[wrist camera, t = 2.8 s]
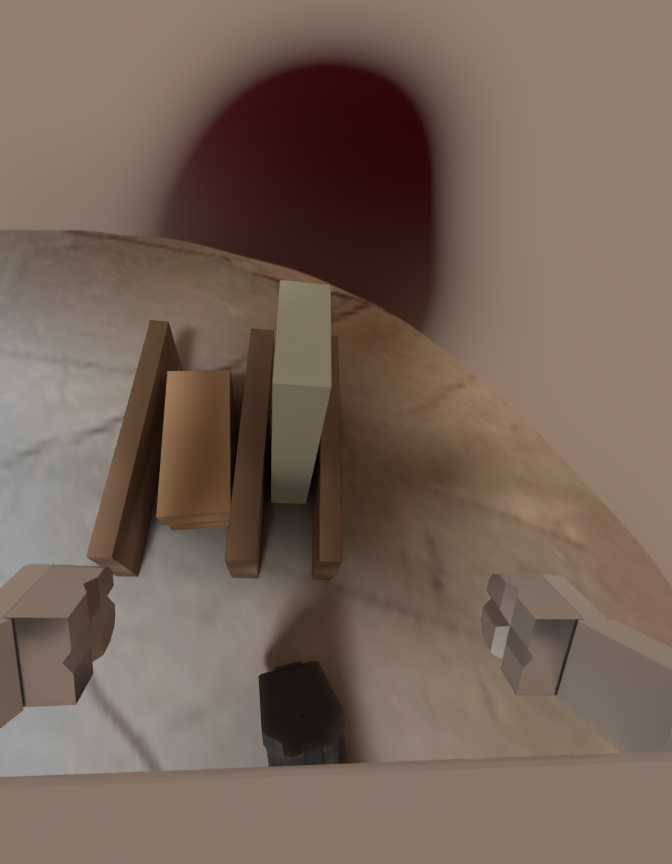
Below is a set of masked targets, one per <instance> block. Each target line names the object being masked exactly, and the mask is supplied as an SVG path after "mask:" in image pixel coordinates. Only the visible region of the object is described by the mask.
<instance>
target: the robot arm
mask: <svg viewBox="0 0 672 864" xmlns="http://www.w3.org/2000/svg"><path fill="white" fill-rule="evenodd" d="M113 586H114V583H113V573H112V570H111V569H110V568H109V567H103V566H76V565H49V564H30V565H26V566H23V567H22V568H21V569H20V570H19V571H18V572H17V573H16V574H15V575H14V576H13V577H12V578H11V579H10V580H8V581H7V582H6V583H5V584H4V585H3V586H2V587H1V588H0V728H1V727H3V726H4V725H5V724H6V723H8V722H9V721H10V720H11V719H13V718H14V717H15V716H16V715H18V714H19V713H20V712H21V711H23V707H37V706H58V705H76V704H77V702H78V700H79V698H80V697H81V695H82V693H83V691H84V689H85V687H86V686H87V684H88V682H89V680H90V678H91V677H92V675H93V665H92V662H94V661H95V660H96V659H98V658H99V657H101V656H102V655H104V653H105V651H106V649H107V647H108V645H109V643H110V640H111V636H112V633H113V630H114V624H115V604H114V603H113V602H112V601H111V600H110V599H109V597H108V596H107V595H108V594H109V592H110V591H111V589H112V587H113ZM487 592H488V593H489V595H490V597H491V599H490V600H489V601H488V602H487V603H486V604H485V605H484V606H483V610H482V616H481V627H482V634H483V637H484V640H485V643H486V645H487V647H488V648H489V650H490V652H491V653H493V654H494V655H496V656H497V657H498V658H500V659H501V660H502V664H501V668H500V669H501V671H502V672H503V674H504V676H505V677H506V679H507V681H508V682H509V684H510V686H511V687H512V689H513V691H514V693H515V694H516V696H557V697H556V699H558V700H559V701H560V702H561V703H563V704H564V705H565V706H566V707H567V708H569V709H570V710H571V711H572V712H573V713H575V714H576V715H577V716H578V717H579V718H581V719H582V720H583V721H584V722H585V723H587V724H588V725H589V726H590V727H591V728H593V729H594V730H595V731H596V732H597V733H599V734H600V735H601V736H602V737H603V738H605V739H606V740H607V741H608V742H610V743H611V744H612V745H613V746H614V747H616V748H617V749H618V750H619V751H620V752H622V753H609V754H586V755H560V756H532V757H505V758H478V759H451V760H423V761H398V762H373V763H348V764H323V765H298V766H274V767H249V768H224V769H199V770H173V771H148V772H122V773H97V774H71V775H46V776H21V777H0V864H672V648H671V647H669V646H667V645H665V644H663V643H661V642H659V641H657V640H655V639H652V638H650V637H648V636H646V635H644V634H642V633H640V632H638V631H636V630H634V629H632V628H630V627H628V626H626V625H624V624H622V623H620V622H618V621H616V620H608V619H607V618H606V617H605V616H604V615H603V614H601V613H600V612H599V611H598V610H597V609H596V608H595V607H594V606H593V605H592V604H591V603H590V602H589V601H588V600H587V599H586V598H585V597H584V596H583V595H582V594H581V593H580V592H579V591H578V590H577V589H576V588H575V587H573V586H572V585H571V584H570V583H569V582H568V581H567V580H566V579H565V578H564V577H563V576H562V575H559V574H557V573H535V574H492V576H491V577H490V579H489V581H488V586H487Z"/></svg>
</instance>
